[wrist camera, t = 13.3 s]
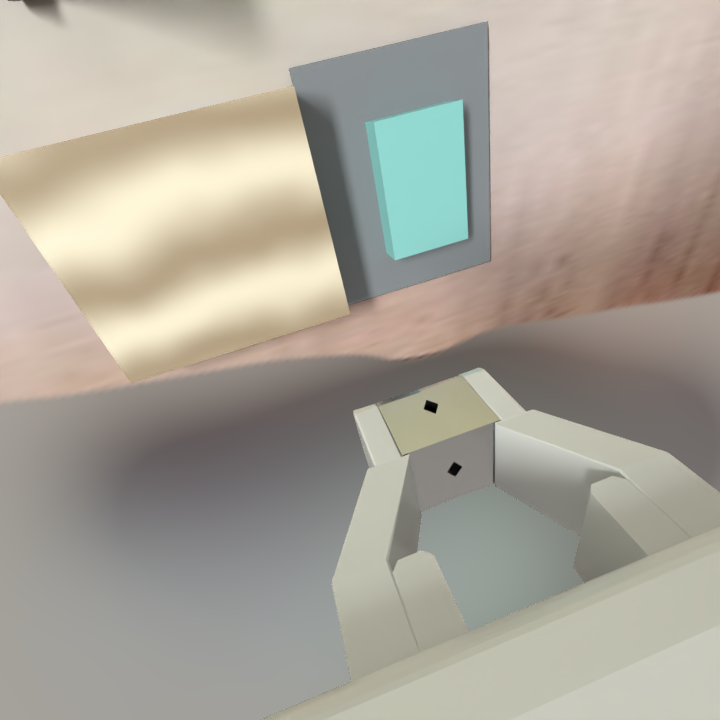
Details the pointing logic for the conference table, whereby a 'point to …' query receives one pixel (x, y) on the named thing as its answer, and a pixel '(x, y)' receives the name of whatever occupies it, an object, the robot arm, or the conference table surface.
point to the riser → (185, 230)
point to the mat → (353, 160)
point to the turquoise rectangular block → (420, 177)
